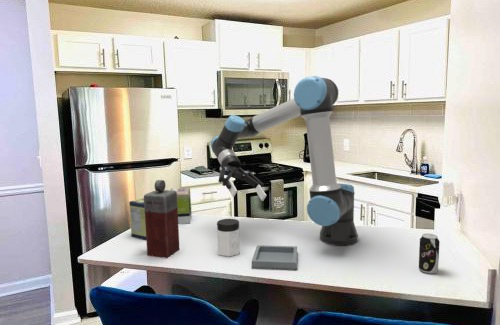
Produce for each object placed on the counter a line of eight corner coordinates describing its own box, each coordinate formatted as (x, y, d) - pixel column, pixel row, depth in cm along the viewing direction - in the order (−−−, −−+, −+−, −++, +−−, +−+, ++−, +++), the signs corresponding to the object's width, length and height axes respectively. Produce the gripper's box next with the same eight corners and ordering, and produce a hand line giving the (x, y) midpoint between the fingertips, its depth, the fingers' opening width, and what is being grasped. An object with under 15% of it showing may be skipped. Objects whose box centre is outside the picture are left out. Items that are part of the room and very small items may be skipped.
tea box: (172, 216, 192) (170, 187, 190) (191, 215, 193) (190, 186, 191) (169, 224, 177) (167, 194, 175) (190, 223, 178) (189, 193, 176)
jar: (224, 258, 136) (223, 226, 134) (213, 251, 143) (212, 221, 141) (244, 253, 141) (244, 222, 139) (233, 246, 147) (232, 217, 146)
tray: (297, 253, 140) (297, 246, 139) (296, 270, 125) (296, 262, 124) (257, 251, 142) (256, 245, 141) (251, 268, 127) (251, 261, 127)
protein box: (173, 230, 170) (172, 196, 167) (148, 240, 156) (145, 204, 154) (156, 226, 175) (155, 194, 173) (130, 236, 162) (128, 201, 159)
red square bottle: (154, 246, 149) (150, 177, 145) (179, 249, 146) (176, 178, 142) (141, 254, 141) (136, 181, 137) (168, 258, 137) (164, 182, 133)
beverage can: (441, 274, 120) (443, 238, 118) (424, 275, 119) (426, 238, 118) (431, 266, 125) (433, 232, 124) (415, 267, 125) (416, 233, 123)
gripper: (249, 174, 163) (270, 206, 148) (199, 164, 149) (217, 199, 134) (257, 160, 160) (280, 192, 145) (207, 149, 146) (226, 183, 131)
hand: (249, 196), depth 139 cm, fingers open, 13 cm apart
